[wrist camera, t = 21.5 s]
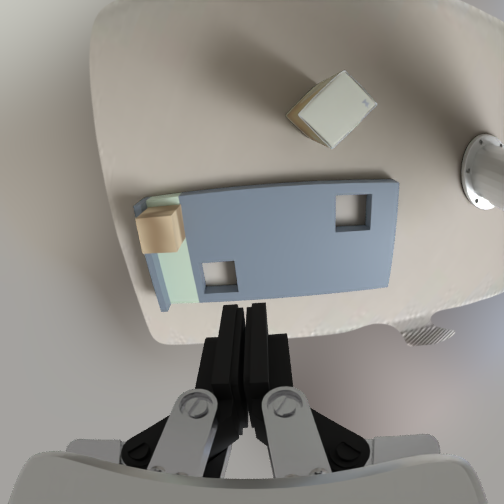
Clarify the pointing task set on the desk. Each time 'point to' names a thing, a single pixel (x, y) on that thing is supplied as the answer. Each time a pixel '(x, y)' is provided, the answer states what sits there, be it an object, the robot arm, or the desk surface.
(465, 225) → the desk surface
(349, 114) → the skincare box
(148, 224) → the block
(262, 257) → the board
